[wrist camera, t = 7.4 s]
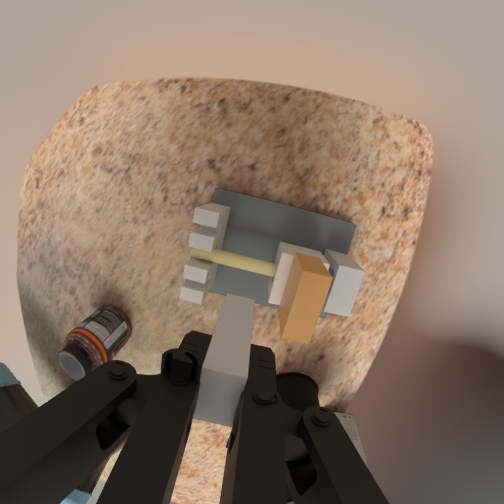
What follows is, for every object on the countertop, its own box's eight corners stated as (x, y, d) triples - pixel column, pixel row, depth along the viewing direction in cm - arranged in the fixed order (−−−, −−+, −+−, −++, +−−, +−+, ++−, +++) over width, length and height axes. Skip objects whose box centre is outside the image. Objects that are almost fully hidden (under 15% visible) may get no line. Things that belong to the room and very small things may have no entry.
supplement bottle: (120, 348, 34) (81, 395, 23) (91, 319, 34) (46, 359, 23) (140, 327, 33) (99, 376, 22) (109, 295, 32) (59, 334, 21)
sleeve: (267, 287, 27) (266, 335, 18) (280, 238, 25) (287, 266, 17) (306, 296, 27) (321, 346, 18) (321, 248, 25) (347, 281, 17)
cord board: (198, 283, 31) (177, 313, 23) (217, 188, 28) (199, 189, 21) (322, 312, 31) (337, 349, 23) (351, 222, 28) (379, 236, 21)
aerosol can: (311, 365, 33) (334, 498, 14) (323, 403, 35) (343, 519, 15) (252, 380, 34) (238, 511, 15) (270, 416, 36) (266, 530, 16)
